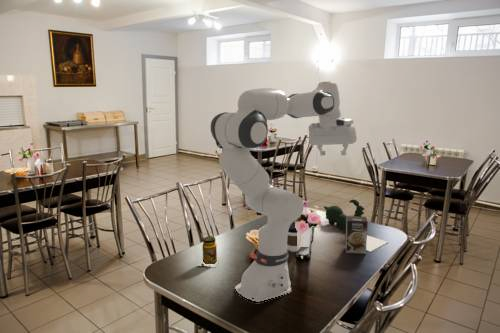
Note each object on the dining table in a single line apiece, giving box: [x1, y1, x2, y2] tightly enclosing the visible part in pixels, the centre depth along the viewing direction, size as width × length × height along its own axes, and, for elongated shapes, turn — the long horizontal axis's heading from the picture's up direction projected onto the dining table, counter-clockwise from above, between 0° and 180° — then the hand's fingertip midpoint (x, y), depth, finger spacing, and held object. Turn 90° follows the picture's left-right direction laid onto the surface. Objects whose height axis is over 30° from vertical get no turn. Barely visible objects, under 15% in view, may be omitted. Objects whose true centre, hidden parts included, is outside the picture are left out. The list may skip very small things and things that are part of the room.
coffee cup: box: [287, 221, 298, 253], centre depth 175 cm, size 11×11×12 cm
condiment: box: [202, 235, 218, 264], centre depth 161 cm, size 7×8×12 cm
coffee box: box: [344, 215, 368, 255], centre depth 171 cm, size 9×6×16 cm
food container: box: [311, 225, 317, 243], centre depth 186 cm, size 12×6×10 cm, turn 179°
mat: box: [366, 234, 389, 253], centre depth 182 cm, size 16×13×1 cm
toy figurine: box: [323, 199, 365, 232], centre depth 201 cm, size 9×19×25 cm
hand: (333, 155), depth 154 cm, fingers open, 8 cm apart
